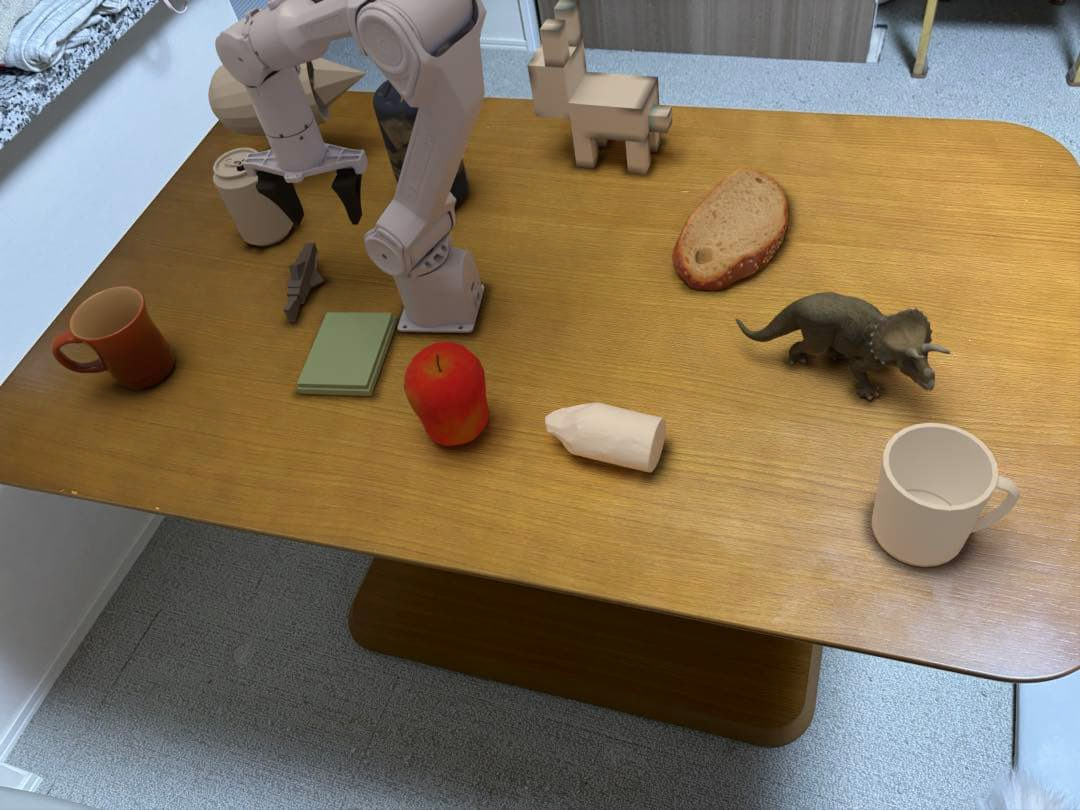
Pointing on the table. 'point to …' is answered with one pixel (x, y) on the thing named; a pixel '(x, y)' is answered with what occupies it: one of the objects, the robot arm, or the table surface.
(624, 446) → the white tapered cylinder
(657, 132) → the toy llama
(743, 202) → the bread slice
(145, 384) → the mug
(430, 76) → the robot arm
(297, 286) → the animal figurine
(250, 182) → the can
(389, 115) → the canister
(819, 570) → the table surface
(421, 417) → the apple
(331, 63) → the jet engine
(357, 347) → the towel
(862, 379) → the toy dinosaur
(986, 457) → the mug
